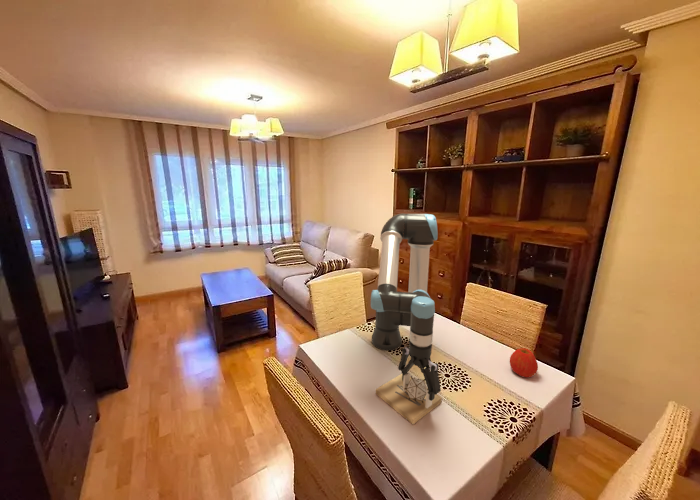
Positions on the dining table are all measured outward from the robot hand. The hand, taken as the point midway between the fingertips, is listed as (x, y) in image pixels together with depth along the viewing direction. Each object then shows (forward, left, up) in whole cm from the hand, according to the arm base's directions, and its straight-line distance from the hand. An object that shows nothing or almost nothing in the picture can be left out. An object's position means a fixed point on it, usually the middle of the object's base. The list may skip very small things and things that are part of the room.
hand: (416, 397), depth 101 cm
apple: (+16, +50, -3) cm, 53 cm away
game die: (0, 0, -1) cm, 1 cm away
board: (-4, 0, -3) cm, 5 cm away
